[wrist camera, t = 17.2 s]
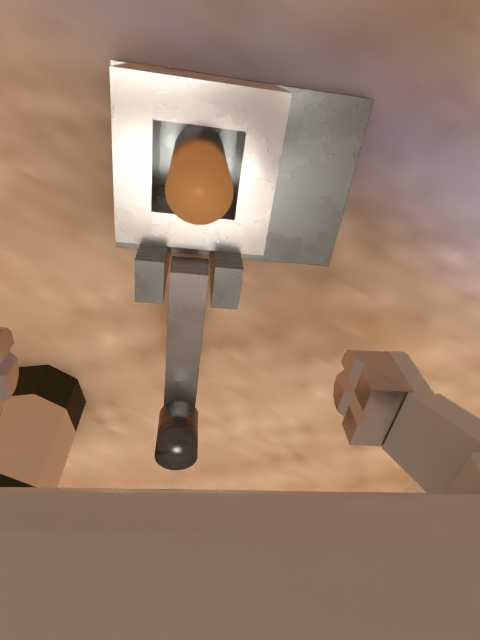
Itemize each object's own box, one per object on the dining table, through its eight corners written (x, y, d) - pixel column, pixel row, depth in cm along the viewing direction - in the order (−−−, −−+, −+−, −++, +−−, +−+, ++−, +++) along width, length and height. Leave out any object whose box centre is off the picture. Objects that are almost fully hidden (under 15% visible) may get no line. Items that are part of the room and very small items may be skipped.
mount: (368, 98, 30) (427, 116, 22) (325, 260, 37) (357, 318, 29) (113, 59, 28) (78, 65, 20) (118, 241, 35) (93, 298, 27)
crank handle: (212, 259, 28) (214, 309, 23) (196, 407, 36) (195, 470, 30) (167, 255, 28) (159, 305, 22) (161, 405, 35) (154, 469, 30)
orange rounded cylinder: (221, 179, 31) (229, 227, 23) (173, 174, 31) (164, 221, 23) (226, 128, 29) (237, 160, 21) (175, 121, 29) (166, 152, 21)
